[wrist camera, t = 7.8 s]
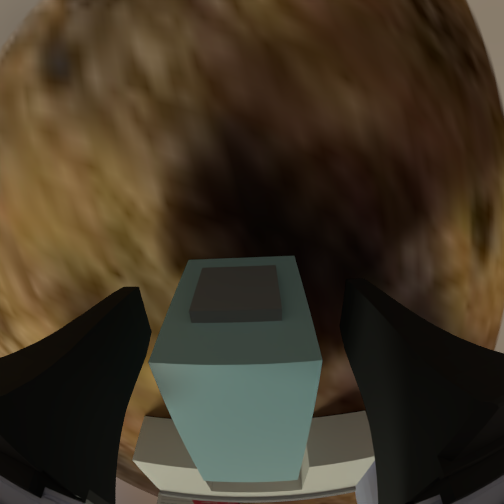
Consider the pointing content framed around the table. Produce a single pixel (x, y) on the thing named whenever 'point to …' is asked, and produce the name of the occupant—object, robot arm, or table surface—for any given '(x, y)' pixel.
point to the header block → (306, 487)
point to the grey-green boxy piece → (240, 367)
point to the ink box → (186, 501)
